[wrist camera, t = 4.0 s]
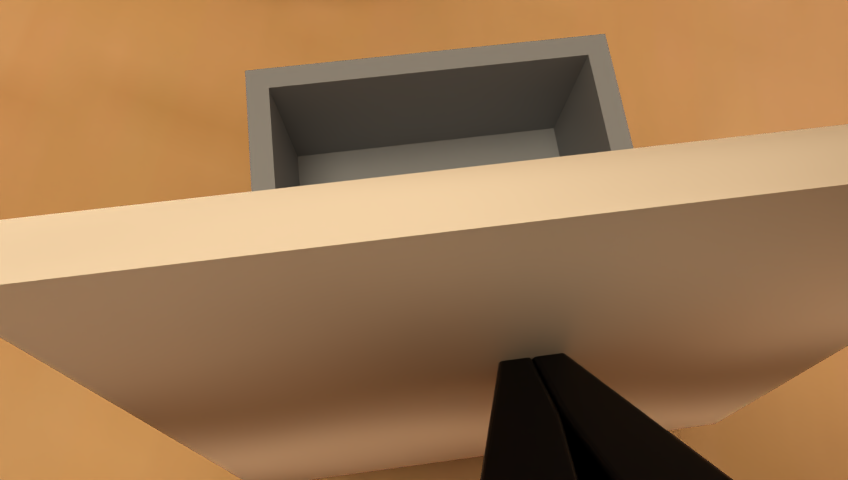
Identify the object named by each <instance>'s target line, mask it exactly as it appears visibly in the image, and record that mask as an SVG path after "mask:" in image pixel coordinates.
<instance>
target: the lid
mask: <svg viewBox="0 0 848 480" xmlns="http://www.w3.org/2000/svg"><path fill="white" fill-rule="evenodd" d="M0 337H1V338H2V339H4V340H6V341H8V342H9V343H11V344H13V345H14V346H16V347H18V348H19V349H21V350H23V351H25V352H26V353H28V354H30V355H31V356H33V357H35V358H36V359H38V360H40V361H42V362H43V363H45V364H47V365H48V366H50V367H52V368H53V369H55V370H57V371H59V372H60V373H62V374H64V375H65V376H67V377H69V378H70V379H72V380H74V381H76V382H77V383H79V384H81V385H82V386H84V387H86V388H88V389H89V390H91V391H93V392H94V393H96V394H98V395H99V396H101V397H103V398H105V399H106V400H108V401H110V402H111V403H113V404H115V405H116V406H118V407H120V408H122V409H123V410H125V411H127V412H128V413H130V414H132V415H133V416H135V417H137V418H139V419H140V420H142V421H144V422H145V423H147V424H149V425H150V426H152V427H154V428H156V429H157V430H159V431H161V432H162V433H164V434H166V435H167V436H169V437H171V438H173V439H174V440H176V441H178V442H179V443H181V444H183V445H184V446H186V447H188V448H190V449H191V450H193V451H195V452H196V453H198V454H200V455H201V456H203V457H205V458H207V459H208V460H210V461H212V462H213V463H215V464H217V465H218V466H220V467H222V468H224V469H225V470H227V471H229V472H230V473H232V474H234V475H235V476H237V477H239V478H241V479H242V480H314V479H321V478H328V477H335V476H342V475H350V474H357V473H364V472H371V471H378V470H386V469H393V468H400V467H407V466H414V465H422V464H429V463H436V462H443V461H450V460H458V459H465V458H472V457H479V456H484V453H485V447H486V440H487V434H488V428H489V421H490V415H491V409H492V402H493V396H494V390H495V383H496V377H497V371H498V365H499V362H501V361H505V360H513V359H520V358H531V359H533V358H534V357H537V356H543V355H551V354H559V353H565V354H566V355H567V356H569V357H570V358H571V359H573V360H574V361H575V362H577V363H578V364H579V365H581V366H582V367H583V368H585V369H586V370H587V371H589V372H590V373H591V374H593V375H594V376H595V377H597V378H598V379H599V380H601V381H602V382H603V383H605V384H606V385H607V386H609V387H610V388H611V389H613V390H614V391H615V392H617V393H618V394H619V395H621V396H622V397H623V398H625V399H626V400H627V401H629V402H630V403H631V404H633V405H634V406H635V407H637V408H638V409H639V410H641V411H642V412H643V413H645V414H646V415H647V416H649V417H650V418H651V419H653V420H654V421H655V422H657V423H658V424H659V425H661V426H662V427H663V428H665V429H666V430H674V429H681V428H688V427H695V426H702V425H710V424H716V423H717V422H719V421H721V420H722V419H724V418H726V417H727V416H729V415H731V414H733V413H734V412H736V411H738V410H739V409H741V408H743V407H744V406H746V405H748V404H750V403H751V402H753V401H755V400H756V399H758V398H760V397H761V396H763V395H765V394H767V393H768V392H770V391H772V390H773V389H775V388H777V387H778V386H780V385H782V384H784V383H785V382H787V381H789V380H790V379H792V378H794V377H795V376H797V375H799V374H801V373H802V372H804V371H806V370H807V369H809V368H811V367H812V366H814V365H816V364H817V363H819V362H821V361H823V360H824V359H826V358H828V357H829V356H831V355H833V354H834V353H836V352H838V351H840V350H841V349H843V348H845V347H846V346H848V124H845V125H836V126H827V127H819V128H810V129H801V130H792V131H783V132H774V133H765V134H757V135H748V136H739V137H730V138H721V139H712V140H703V141H695V142H686V143H677V144H668V145H659V146H650V147H641V148H633V149H624V150H615V151H606V152H597V153H588V154H580V155H571V156H562V157H553V158H544V159H535V160H526V161H518V162H509V163H500V164H491V165H482V166H473V167H464V168H456V169H447V170H438V171H429V172H420V173H411V174H402V175H394V176H385V177H376V178H367V179H358V180H349V181H341V182H332V183H323V184H314V185H305V186H296V187H287V188H279V189H270V190H261V191H252V192H243V193H234V194H225V195H217V196H208V197H199V198H190V199H181V200H172V201H163V202H155V203H146V204H137V205H128V206H119V207H110V208H101V209H93V210H84V211H75V212H66V213H57V214H48V215H40V216H31V217H22V218H13V219H4V220H0Z"/></svg>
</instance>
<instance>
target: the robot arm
mask: <svg viewBox="0 0 848 480" xmlns="http://www.w3.org/2000/svg"><path fill="white" fill-rule="evenodd" d="M480 480H733V479H731V478H730V477H729V476H727V475H726V474H725V473H723V472H722V471H721V470H719V469H718V468H717V467H715V466H714V465H713V464H711V463H710V462H709V461H707V460H706V459H705V458H703V457H702V456H701V455H699V454H698V453H697V452H695V451H694V450H693V449H691V448H690V447H689V446H687V445H686V444H685V443H683V442H682V441H681V440H679V439H678V438H677V437H675V436H674V435H673V434H671V433H670V432H669V431H667V430H666V429H665V428H663V427H662V426H661V425H659V424H658V423H657V422H655V421H654V420H653V419H651V418H650V417H649V416H647V415H646V414H645V413H643V412H642V411H641V410H639V409H638V408H637V407H635V406H634V405H633V404H631V403H630V402H629V401H627V400H626V399H625V398H623V397H622V396H621V395H619V394H618V393H617V392H615V391H614V390H613V389H611V388H610V387H609V386H607V385H606V384H605V383H603V382H602V381H601V380H599V379H598V378H597V377H595V376H594V375H593V374H591V373H590V372H589V371H587V370H586V369H585V368H583V367H582V366H581V365H579V364H578V363H577V362H575V361H574V360H573V359H571V358H570V357H569V356H567V355H566V354H565V353H559V354H551V355H543V356H537V357H534V358H533V359H531V358H520V359H513V360H505V361H501V362H499V365H498V371H497V377H496V383H495V390H494V396H493V402H492V409H491V415H490V421H489V428H488V434H487V440H486V447H485V453H484V459H483V465H482V472H481V478H480Z"/></svg>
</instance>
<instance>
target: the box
mask: <svg viewBox="0 0 848 480" xmlns="http://www.w3.org/2000/svg"><path fill="white" fill-rule="evenodd" d="M245 77H246V95H247V114H248V133H249V151H250V170H251V189H252V191H261V190H270V189H279V188H287V187H296V186H305V185H314V184H323V183H332V182H341V181H349V180H358V179H367V178H376V177H385V176H394V175H402V174H411V173H420V172H429V171H438V170H447V169H456V168H464V167H473V166H482V165H491V164H500V163H509V162H518V161H526V160H535V159H544V158H553V157H562V156H571V155H580V154H588V153H597V152H606V151H615V150H624V149H633V145H632V141H631V137H630V133H629V129H628V125H627V121H626V117H625V113H624V109H623V105H622V101H621V97H620V92H619V88H618V84H617V80H616V76H615V72H614V68H613V64H612V60H611V56H610V52H609V48H608V44H607V40H606V36H605V34H599V35H589V36H580V37H570V38H560V39H550V40H541V41H531V42H521V43H511V44H501V45H492V46H482V47H472V48H462V49H453V50H443V51H433V52H423V53H413V54H404V55H394V56H384V57H374V58H365V59H355V60H345V61H335V62H326V63H316V64H306V65H296V66H286V67H277V68H267V69H257V70H247V71H245Z"/></svg>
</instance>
